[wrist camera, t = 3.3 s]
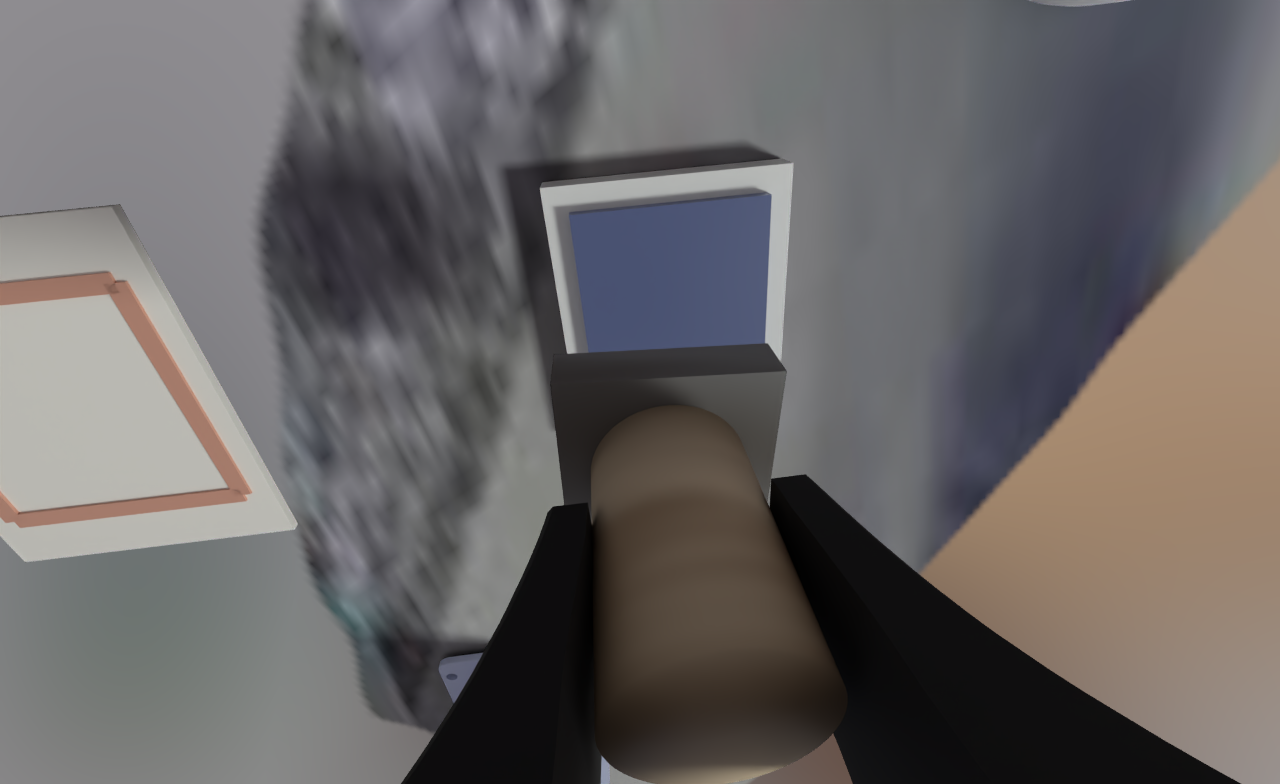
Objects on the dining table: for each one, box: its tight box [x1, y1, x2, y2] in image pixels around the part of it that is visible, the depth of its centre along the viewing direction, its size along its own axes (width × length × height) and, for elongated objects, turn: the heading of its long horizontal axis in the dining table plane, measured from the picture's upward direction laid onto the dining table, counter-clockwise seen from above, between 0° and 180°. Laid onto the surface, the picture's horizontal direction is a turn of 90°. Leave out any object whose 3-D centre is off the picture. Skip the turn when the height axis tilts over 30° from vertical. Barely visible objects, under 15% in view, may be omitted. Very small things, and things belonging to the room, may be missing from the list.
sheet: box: [0, 204, 298, 562], centre depth 17 cm, size 12×10×1 cm
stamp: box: [550, 343, 848, 784], centre depth 9 cm, size 4×4×6 cm
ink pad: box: [540, 159, 793, 362], centre depth 17 cm, size 9×7×1 cm
